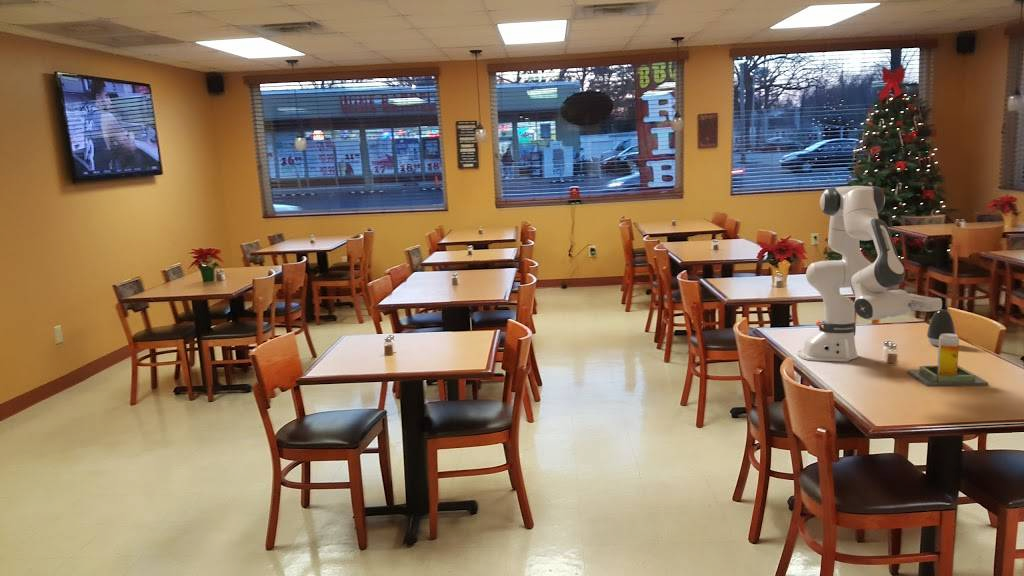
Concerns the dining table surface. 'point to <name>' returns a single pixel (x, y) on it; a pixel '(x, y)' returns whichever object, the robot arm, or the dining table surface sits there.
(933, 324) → the dark grey egg shape
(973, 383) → the green and grey tray
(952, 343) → the beer can
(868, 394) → the dining table surface
